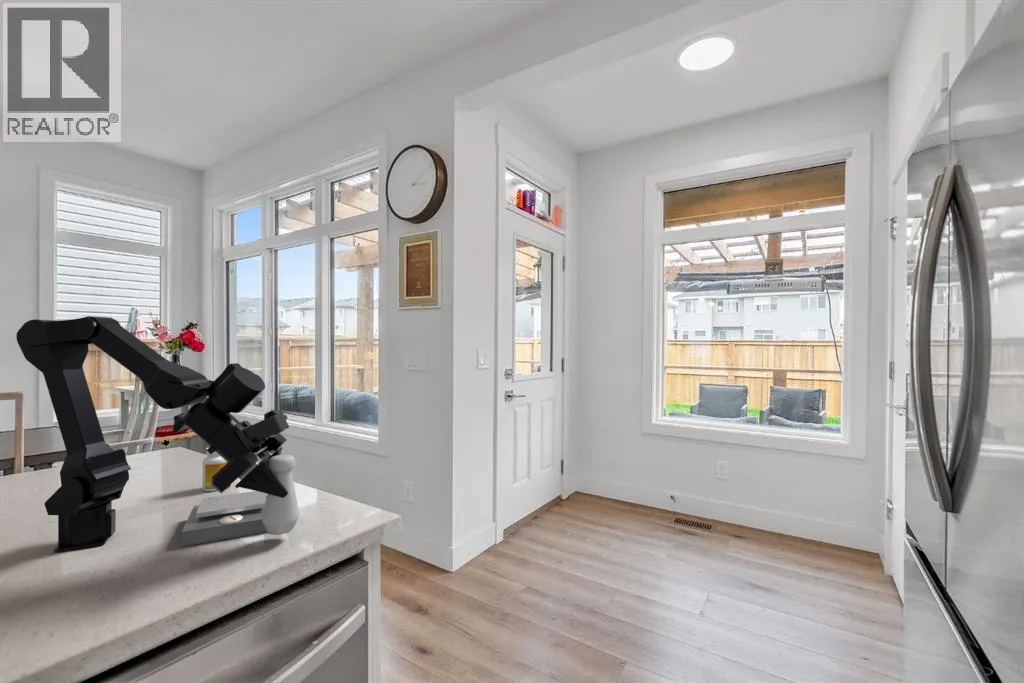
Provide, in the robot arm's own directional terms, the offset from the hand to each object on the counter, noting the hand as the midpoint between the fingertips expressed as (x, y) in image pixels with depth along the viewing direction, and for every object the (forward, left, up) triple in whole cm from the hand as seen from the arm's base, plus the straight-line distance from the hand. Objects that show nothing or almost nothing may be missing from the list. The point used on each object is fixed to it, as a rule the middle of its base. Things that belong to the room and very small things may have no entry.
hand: (289, 492), depth 80 cm
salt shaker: (-1, 0, -7) cm, 7 cm away
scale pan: (-9, +14, -5) cm, 17 cm away
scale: (-9, +12, -8) cm, 17 cm away
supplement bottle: (-14, +39, -9) cm, 43 cm away
